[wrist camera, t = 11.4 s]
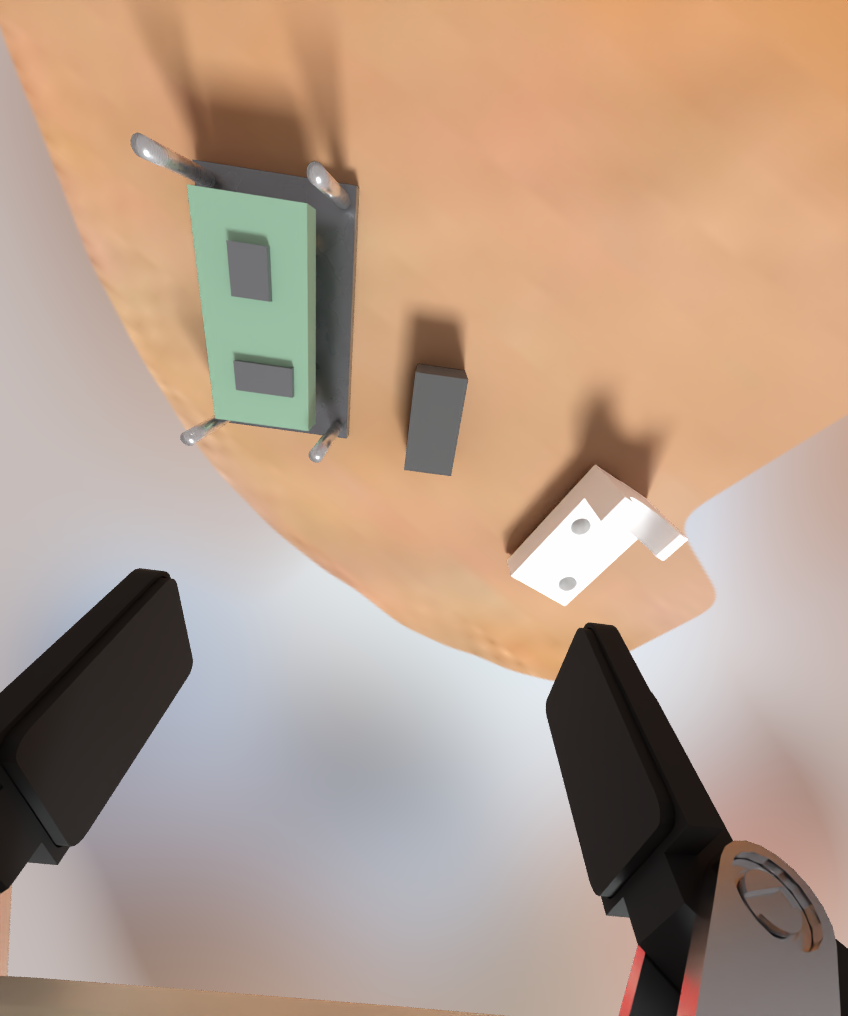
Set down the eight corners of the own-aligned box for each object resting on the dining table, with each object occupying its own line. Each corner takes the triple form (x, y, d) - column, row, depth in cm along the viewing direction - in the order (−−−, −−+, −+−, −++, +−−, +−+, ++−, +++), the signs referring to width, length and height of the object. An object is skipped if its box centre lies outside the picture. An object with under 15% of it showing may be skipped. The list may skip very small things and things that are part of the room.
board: (204, 191, 25) (181, 182, 23) (315, 209, 25) (303, 201, 23) (227, 411, 32) (211, 420, 29) (315, 423, 32) (306, 433, 30)
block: (417, 363, 33) (415, 372, 30) (464, 370, 34) (468, 379, 30) (407, 453, 37) (404, 469, 34) (449, 458, 37) (450, 476, 34)
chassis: (200, 163, 28) (119, 119, 20) (359, 189, 28) (333, 154, 21) (227, 418, 36) (176, 449, 29) (348, 434, 36) (327, 468, 29)
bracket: (591, 460, 37) (625, 496, 31) (645, 497, 39) (688, 539, 32) (505, 555, 43) (518, 603, 36) (555, 584, 44) (577, 635, 38)
